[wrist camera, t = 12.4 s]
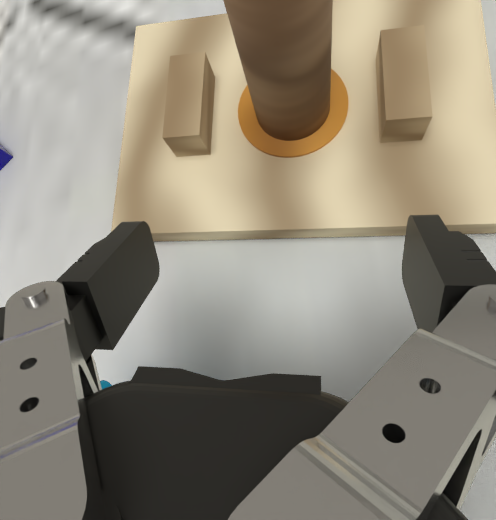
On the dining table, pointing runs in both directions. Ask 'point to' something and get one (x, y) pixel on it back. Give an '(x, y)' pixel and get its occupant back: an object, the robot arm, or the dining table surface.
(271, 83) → the pin
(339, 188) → the plate
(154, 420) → the robot arm
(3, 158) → the mounting bracket
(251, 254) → the dining table surface
